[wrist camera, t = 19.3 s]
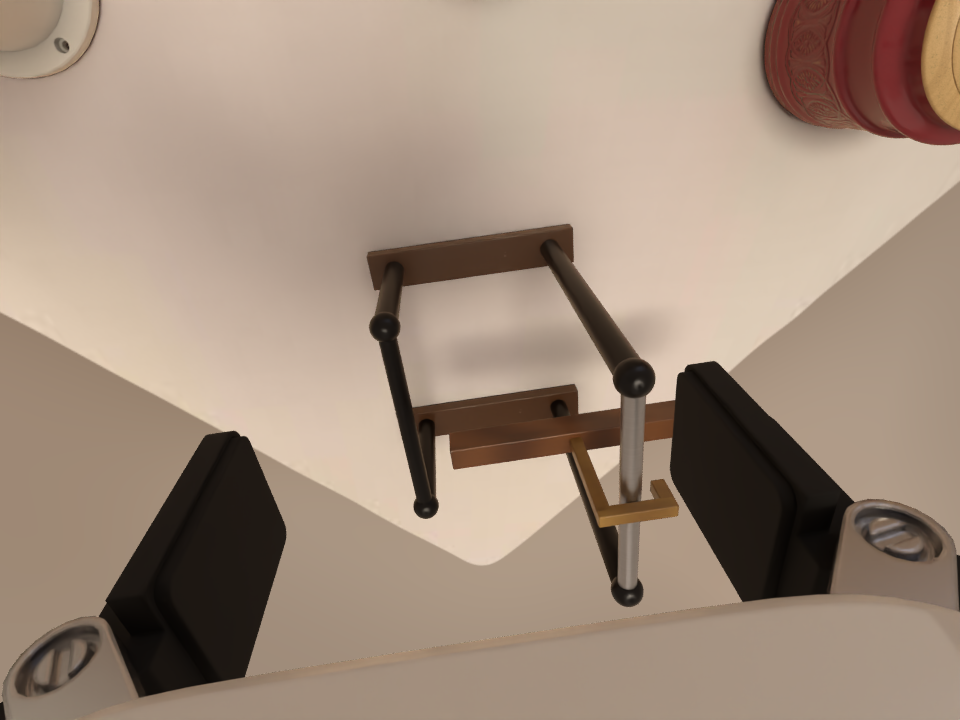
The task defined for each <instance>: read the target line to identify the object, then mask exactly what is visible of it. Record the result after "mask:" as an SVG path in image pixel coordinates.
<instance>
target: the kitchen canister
mask: <svg viewBox="0 0 960 720" xmlns="http://www.w3.org/2000/svg"><path fill="white" fill-rule="evenodd" d="M764 58H765V70H766V75H767V79H768V82H769V85H770V88H771V90H772V92H773V94H774V96H775V97H776V99H777V100H778V102H779V103H780V104H781V105H782V106H783V107H784V108H785V109H786V110H787V111H789V112H790V113H791V114H793V115H795V116H796V117H798V118H799V119H801V120H803V121H805V122H807V123H809V124H812V125H815V126H820V127H826V128H834V129H842V128H850V129H857V130H863V131H868V132H870V133H873V134H875V135H878V136H882V137H887V138H910V139H913V140H915V141H918V142H921V143H925V144H930V145H954V144H960V0H777V2H776V4H775V6H774V9H773V12H772V15H771V18H770V21H769V25H768V29H767V34H766V40H765V52H764Z"/></svg>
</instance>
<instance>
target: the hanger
mask: <svg viewBox="0 0 960 720" xmlns="http://www.w3.org/2000/svg"><path fill="white" fill-rule="evenodd" d="M674 411H675V400H673V401H666V402H659V403H652V404H646V405H645V426H644V442H645V441H652V440H659V439H666V438H672V436H673V423H674ZM620 415H621V408H618V409H611V410H604V411H597V412H590V413H583V414H576V415H570V416H563V417H556V418H549V419H542V420H535V421H528V422H521V423H514V424H508V425H501V426H494V427H487V428H480V429H473V430H466V431H459V432H453V433H449V440H450V454H451V459H452V464H453V469H461V468H468V467H475V466H481V465H488V464H495V463H502V462H509V461H516V460H522V459H529V458H536V457H543V456H550V455H557V454H563V453H570V452H572V454H573V457H574V460H575V463H576V465H577V468H578V471H579V474H580V476H581V479H582V482H583V485H584V487H585V490H586V493H587V496H588V498H589V501H590V504H591V507H592V509H593V512H594V515H595V518H596V520H597V523H598V526H599V527H600V528H601V527H608V526H615V525H621V524H628V523H635V522H641V521H648V520H655V519H662V518H668V517H675V516H678V510H679V505H678V504H677V502H676V500H675V498H674V496H673V494H672V493H671V491H670V489H669V488H668V486H667V484H666V482H665V480H664V479H660V480H653V481H651V485H650V486H651V487H650V491H651V493H652V495H653V497H654V499H652V500H645V501H638V502H631V503H625V504H618V505H611V506H609V504H608V502H607V499H606V497H605V495H604V492H603V489H602V487H601V484H600V482H599V479H598V477H597V475H596V472H595V470H594V467H593V465H592V462H591V460H590V457H589V455H588V452H587V450H591V449H598V448H604V447H611V446H618V445H620Z"/></svg>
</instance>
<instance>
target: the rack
mask: <svg viewBox="0 0 960 720" xmlns="http://www.w3.org/2000/svg"><path fill="white" fill-rule="evenodd" d="M367 260H368V265H369V269H370V273H371V278H372V282H373V286H374V290H380V293H379V298H378V302H377V307H376V311H375V316H374V317H373V318H372V319H371V321H370V324H369V330H370V333H371V335H372V336H373V338H374V339H376V340H377V341H379V345H380V349H381V353H382V357H383V361H384V365H385V369H386V374H387V378H388V382H389V386H390V390H391V394H392V398H393V403H394V407H395V411H396V415H397V419H398V423H399V428H400V432H401V436H402V440H403V444H404V448H405V452H406V457H407V461H408V465H409V469H410V473H411V477H412V482H413V486H414V490H415V494H416V499H415V501H414V511H415V513H416V514H417V515H418V516H419V517H420V518H423V519H428V518H431V517H433V516H434V515H435V514H436V513H437V511H438V508H439V503H438V500H437V498H436V460H435V436H440V435H447V434H449V433H453V432H459V431H466V430H473V429H480V428H487V427H494V426H501V425H508V424H514V423H521V422H528V421H535V420H542V419H549V418H556V417H563V416H570V415H576V414H578V390H577V388H576V386H575V385H567V386H560V387H553V388H546V389H539V390H533V391H526V392H519V393H512V394H505V395H498V396H491V397H484V398H477V399H471V400H464V401H457V402H450V403H443V404H436V405H429V406H422V407H416V408H412V404H411V400H410V395H409V391H408V386H407V381H406V377H405V372H404V368H403V363H402V359H401V354H400V350H399V345H398V341H397V336H398V335H399V333H400V322H399V320H398V319H399V311H400V303H401V294H402V287H403V286H410V285H417V284H424V283H431V282H438V281H445V280H452V279H459V278H466V277H473V276H480V275H487V274H494V273H501V272H508V271H515V270H522V269H529V268H536V267H544V266H549V268H550V269H551V271H552V273H553V274H554V276H555V278H556V280H557V281H558V283H559V285H560V286H561V288H562V290H563V291H564V293H565V295H566V297H567V298H568V300H569V302H570V303H571V305H572V307H573V308H574V310H575V312H576V314H577V315H578V317H579V319H580V320H581V322H582V324H583V325H584V327H585V329H586V331H587V332H588V334H589V336H590V337H591V339H592V341H593V342H594V344H595V346H596V348H597V349H598V351H599V353H600V354H601V356H602V358H603V359H604V361H605V363H606V365H607V366H608V368H609V370H610V371H611V373H612V375H613V383H614V386H615V388H616V390H617V391H618V392H619V393H620V394H621V415H620V472H619V475H620V476H619V477H620V478H619V504H625V503H631V502H638V501H641V490H642V470H643V448H644V447H643V445H644V426H645V405H646V395H647V394H648V393H649V392H650V391H651V390H652V388H653V387H654V384H655V373H654V370H653V368H652V367H651V365H650V364H649V363H648V362H646V361H645V360H643V359H641V358H640V357H639V356H638V354H637V353H636V351H635V350H634V349H633V347H632V346H631V345H630V343H629V342H628V340H627V339H626V338H625V336H624V335H623V333H622V332H621V331H620V329H619V328H618V326H617V325H616V324H615V322H614V321H613V319H612V318H611V317H610V315H609V314H608V312H607V311H606V310H605V308H604V307H603V305H602V304H601V303H600V301H599V300H598V298H597V297H596V296H595V294H594V293H593V291H592V290H591V289H590V287H589V286H588V284H587V283H586V282H585V280H584V279H583V277H582V276H581V275H580V273H579V272H578V270H577V269H576V268H575V266H574V265H573V263H572V262H574V254H573V228H572V227H571V225H570V224H566V225H558V226H551V227H544V228H537V229H530V230H523V231H516V232H509V233H502V234H495V235H487V236H480V237H473V238H466V239H459V240H452V241H445V242H438V243H431V244H423V245H416V246H409V247H402V248H395V249H388V250H381V251H374V252H368V255H367ZM566 455H567V458H568V461H569V463H570V466H571V469H572V472H573V475H574V478H575V481H576V483H577V486H578V489H579V492H580V495H581V497H582V500H583V503H584V506H585V509H586V512H587V515H588V517H589V520H590V523H591V526H592V529H593V532H594V535H595V538H596V540H597V543H598V546H599V549H600V552H601V555H602V557H603V560H604V563H605V566H606V569H607V572H608V575H609V577H610V580H611V583H612V584H611V592H612V595H613V597H614V599H615V600H616V601H617V602H618V603H619V604H620V605H622V606H625V607H633V606H635V605H637V604H638V603H639V602H640V601H641V600H642V597H643V586H642V584H641V582H640V581H639V579H638V554H639V534H640V522H635V523H628V524H621V525H619V529H618V532H617V530H616V527H615V526H608V527H601V528H600V527H599V526H598V523H597V520H596V518H595V515H594V512H593V509H592V507H591V504H590V501H589V498H588V496H587V493H586V490H585V487H584V485H583V482H582V479H581V476H580V474H579V471H578V468H577V465H576V463H575V460H574V457H573V454H572V452H570V453H566Z"/></svg>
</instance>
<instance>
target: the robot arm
mask: <svg viewBox="0 0 960 720" xmlns="http://www.w3.org/2000/svg"><path fill="white" fill-rule="evenodd" d="M98 14H99V0H0V76H4V77H10V78H36V77H44V76H50V75H52V74H55V73H58V72H60V71H63V70H65V69H66V68H68V67H69V66H71V65H72V64H73V63H75V62H76V61H77V60H78V59H79V58H80V57H81V56H82V54H83V53H84V52H85V51H86V49H87V48H88V47H89V44H90V42H91V40H92V37H93V35H94V33H95V31H96V25H97V20H98ZM66 43H68V44H69V49H68V48H67V46H66ZM670 471H671V477H672V480H673V483H674V485H675V486H676V488H677V490H678V492H679V493H680V495H681V496H682V498H683V500H684V502H685V503H686V505H687V507H688V509H689V510H690V512H691V514H692V516H693V517H694V519H695V521H696V523H697V524H698V526H699V528H700V529H701V531H702V533H703V534H704V536H705V538H706V539H707V541H708V543H709V545H710V546H711V548H712V550H713V552H714V553H715V555H716V557H717V559H718V560H719V562H720V564H721V565H722V567H723V569H724V571H725V572H726V574H727V576H728V578H729V579H730V581H731V583H732V584H733V586H734V588H735V589H736V591H737V593H738V595H739V596H740V598H741V600H742V602H740V603H732V604H725V605H717V606H710V607H701V608H694V609H687V610H680V611H673V612H666V613H660V614H653V615H646V616H639V617H632V618H625V619H618V620H612V621H604V622H598V623H591V624H585V625H577V626H570V627H564V628H557V629H550V630H544V631H537V632H530V633H524V634H517V635H510V636H504V637H497V638H491V639H484V640H477V641H471V642H464V643H458V644H451V645H445V646H439V647H432V648H425V649H419V650H412V651H406V652H399V653H393V654H387V655H380V656H374V657H367V658H361V659H355V660H348V661H342V662H336V663H330V664H324V665H317V666H311V667H304V668H298V669H292V670H285V671H279V672H272V673H267V674H261V675H255V676H249V677H245V674H246V671H247V668H248V664H249V661H250V658H251V654H252V651H253V648H254V644H255V641H256V638H257V634H258V631H259V628H260V625H261V621H262V618H263V614H264V611H265V608H266V605H267V601H268V597H269V595H270V591H271V588H272V585H273V581H274V578H275V575H276V571H277V568H278V564H279V561H280V558H281V555H282V551H283V548H284V545H285V541H286V527H285V524H284V521H283V519H282V516H281V514H280V512H279V510H278V507H277V504H276V502H275V500H274V497H273V495H272V493H271V490H270V488H269V486H268V483H267V481H266V479H265V476H264V474H263V471H262V469H261V467H260V464H259V462H258V460H257V457H256V455H255V452H254V450H253V448H252V445H251V443H250V441H249V439H248V438H247V437H246V436H240V435H239V433H237V432H236V431H229V432H222V433H215V434H209V435H206V436H205V437H204V438H203V440H202V441H201V443H200V445H199V446H198V448H197V450H196V451H195V453H194V455H193V456H192V458H191V460H190V461H189V463H188V465H187V466H186V468H185V470H184V471H183V473H182V474H181V476H180V478H179V479H178V481H177V483H176V485H175V486H174V488H173V489H172V491H171V493H170V494H169V496H168V498H167V499H166V501H165V503H164V504H163V506H162V508H161V509H160V511H159V513H158V514H157V516H156V518H155V519H154V521H153V523H152V524H151V526H150V527H149V529H148V531H147V532H146V534H145V536H144V537H143V539H142V541H141V542H140V544H139V546H138V547H137V549H136V551H135V553H134V554H133V556H132V557H131V559H130V561H129V562H128V564H127V566H126V567H125V569H124V571H123V572H122V574H121V576H120V577H119V579H118V581H117V582H116V584H115V585H114V587H113V589H112V590H111V592H110V594H109V595H108V597H107V599H106V602H107V604H106V605H105V607H104V609H103V610H102V612H101V614H100V615H99V617H96V616H89V617H80V618H77V619H74V620H71V621H68V622H65V623H64V624H62V625H60V626H58V627H56V628H54V629H52V630H50V631H49V632H47V633H46V634H45V635H43V636H42V637H40V638H39V639H38V640H36V641H35V642H34V643H33V644H32V645H31V646H30V647H29V648H28V649H26V650H25V651H24V652H23V653H22V654H21V656H20V657H19V658H18V659H17V660H16V662H15V663H14V664H13V666H12V667H11V668H10V670H9V672H8V674H7V676H6V679H5V680H4V683H3V692H2V697H3V702H1V703H0V720H960V556H959V555H957V554H956V548H955V545H954V542H953V539H952V538H951V536H950V535H949V534H948V532H947V531H946V530H945V528H943V527H942V526H941V525H940V524H939V523H937V522H936V521H935V520H933V519H932V518H931V517H929V516H927V515H925V514H924V513H922V512H920V511H918V510H917V509H914V508H912V507H909V506H906V505H903V504H901V503H897V502H892V501H887V500H879V499H876V500H875V499H867V500H862V501H858V502H854V501H853V500H852V499H851V498H850V497H849V496H848V495H847V494H846V493H845V492H844V491H843V490H842V489H841V488H840V487H839V486H838V485H837V484H836V483H835V482H834V481H833V480H832V479H831V477H830V476H829V475H828V474H827V473H826V472H825V471H824V470H823V469H822V468H821V467H820V466H819V465H818V464H817V463H816V462H815V461H814V460H813V459H812V458H811V457H810V456H809V455H808V454H807V453H806V452H805V451H804V450H803V449H802V448H801V446H800V445H799V444H797V442H796V441H794V439H793V438H792V437H791V436H790V435H789V434H788V433H787V432H786V431H785V430H784V429H783V428H782V427H781V426H780V425H779V424H778V423H777V422H776V421H775V420H774V419H773V418H771V417H770V416H768V414H767V413H766V412H765V411H764V410H763V409H762V408H761V407H760V406H759V405H758V404H757V403H756V402H755V401H754V400H753V399H752V398H751V397H750V396H749V395H748V394H747V393H746V392H745V391H744V390H743V388H742V387H741V386H740V385H739V384H737V382H736V381H735V380H734V379H733V378H732V377H731V376H730V375H729V374H728V373H727V372H726V371H725V370H724V369H723V368H722V367H721V366H720V365H719V364H718V363H717V362H715V361H711V362H704V363H697V364H691V365H688V366H686V368H685V372H682V373H679V374H678V377H677V386H676V398H675V411H674V423H673V436H672V448H671V462H670Z"/></svg>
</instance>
